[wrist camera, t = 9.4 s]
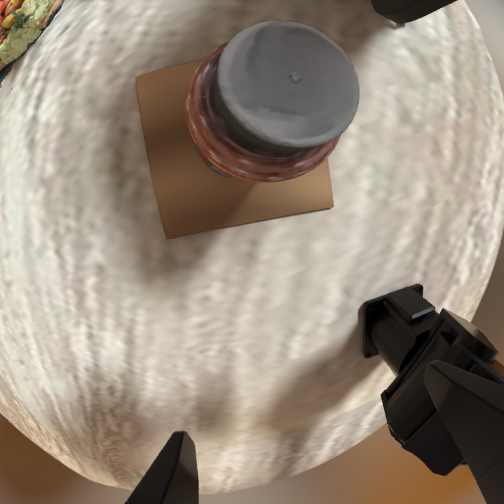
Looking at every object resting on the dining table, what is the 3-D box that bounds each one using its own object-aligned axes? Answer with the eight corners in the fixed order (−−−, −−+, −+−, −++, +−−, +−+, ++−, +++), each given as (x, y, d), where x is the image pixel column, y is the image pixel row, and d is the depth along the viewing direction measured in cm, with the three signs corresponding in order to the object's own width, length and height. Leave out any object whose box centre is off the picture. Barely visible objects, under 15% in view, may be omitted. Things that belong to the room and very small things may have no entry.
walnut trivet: (327, 204, 20) (333, 207, 19) (169, 235, 20) (166, 239, 18) (300, 54, 16) (304, 48, 15) (140, 81, 16) (135, 77, 15)
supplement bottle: (291, 170, 18) (403, 177, 7) (203, 188, 17) (201, 215, 6) (275, 87, 16) (360, 4, 5) (186, 101, 15) (163, 7, 5)
